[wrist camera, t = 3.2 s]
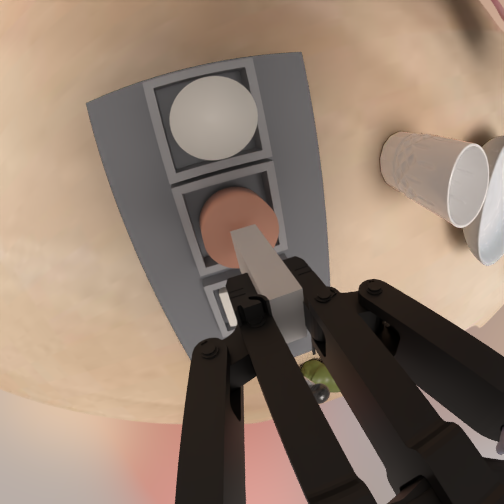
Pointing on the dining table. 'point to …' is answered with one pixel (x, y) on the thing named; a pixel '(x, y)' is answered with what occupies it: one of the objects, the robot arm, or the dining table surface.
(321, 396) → the toggle lever
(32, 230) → the dining table surface
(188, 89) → the cream button
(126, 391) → the dining table surface
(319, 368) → the green rounded piece
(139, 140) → the switch panel
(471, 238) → the serving bowl
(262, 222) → the terracotta button
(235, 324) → the rocker switch
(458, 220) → the white cup
